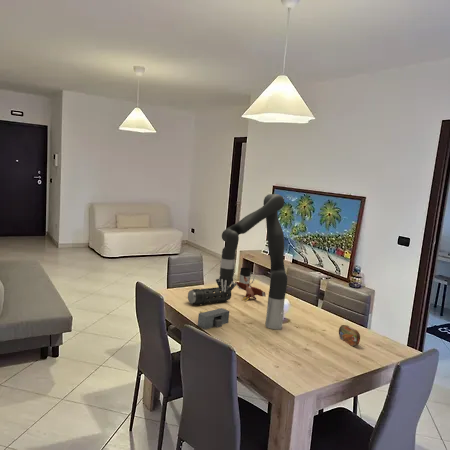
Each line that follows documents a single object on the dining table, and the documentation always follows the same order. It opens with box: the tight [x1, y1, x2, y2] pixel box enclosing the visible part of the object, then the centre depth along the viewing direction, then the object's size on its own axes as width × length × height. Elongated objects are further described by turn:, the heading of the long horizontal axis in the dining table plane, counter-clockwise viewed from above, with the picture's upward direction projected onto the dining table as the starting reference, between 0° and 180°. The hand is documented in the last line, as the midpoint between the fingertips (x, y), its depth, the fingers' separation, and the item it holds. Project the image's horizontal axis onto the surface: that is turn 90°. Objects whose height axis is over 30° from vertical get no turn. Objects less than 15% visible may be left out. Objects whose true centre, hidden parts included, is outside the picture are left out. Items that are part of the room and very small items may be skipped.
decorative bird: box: [234, 277, 267, 302], centre depth 278 cm, size 28×18×15 cm, turn 42°
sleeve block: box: [197, 307, 230, 330], centre depth 228 cm, size 6×18×7 cm, turn 135°
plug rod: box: [199, 309, 223, 329], centre depth 231 cm, size 16×4×4 cm, turn 38°
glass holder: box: [237, 267, 256, 291], centre depth 306 cm, size 9×14×15 cm, turn 40°
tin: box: [338, 324, 361, 347], centre depth 219 cm, size 15×3×8 cm, turn 21°
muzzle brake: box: [187, 287, 232, 306], centre depth 265 cm, size 10×28×10 cm, turn 123°
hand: (224, 298), depth 222 cm, fingers closed
